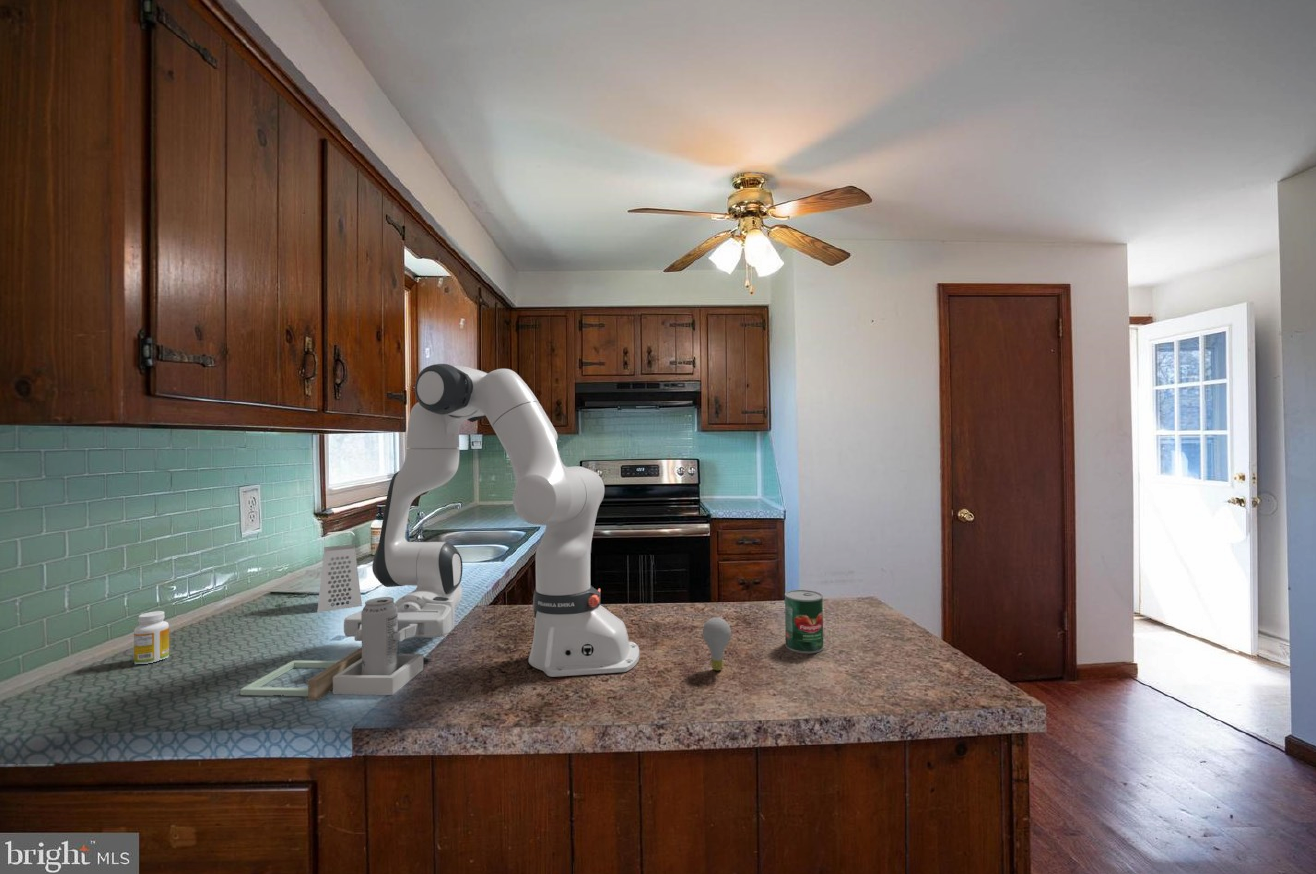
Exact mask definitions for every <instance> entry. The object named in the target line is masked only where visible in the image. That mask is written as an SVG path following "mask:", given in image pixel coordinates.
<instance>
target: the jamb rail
mask: <svg viewBox="0 0 1316 874" xmlns="http://www.w3.org/2000/svg"><path fill="white" fill-rule="evenodd" d="M361 658H362V646H361V647H359V648H358V649H356V650H354V651H353V652H352V653H350V654H348V655H347V656H345V657H343V658H342V659H340V660H337V661H338V662H337V663H335V664H333V665H332V666H330V667H329V668H324V670H322V671H321V672H318V673H317V674H316V675H314V676H312V677H311V678H309V679H308V680H307V686H308V687H307V688H308V696H307V698H308V701H318V700H319V699H321V698H322V697H324V696H326V695H327V694H328V693H330V692H332V691H333V677H334V676H335V675H337V674H338V673H340V672H341V671H343V670H344V669H346V668H347V667H349V666H351V665H352V664H354V663H355V662H357V661H358V660H360V659H361Z"/></svg>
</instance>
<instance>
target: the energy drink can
mask: <svg viewBox="0 0 1316 874" xmlns="http://www.w3.org/2000/svg"><path fill="white" fill-rule="evenodd" d="M394 600H395V599H394V597H390V596H383V597H382V596H381V597H375V598H371V599H368V600H366V601H365V602H364V604H365V605H364V607H363V609H362V610H361V611H362V612H361V622H362V641H361V647H362V675H392V674H393V673H394V672H395V671H397V670H398V654H399V641H393V640H392V638H393V636H392V634H393V632H394V631H396V630H397V629H398V613H397V606H396V604H395V601H394Z"/></svg>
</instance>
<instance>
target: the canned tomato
mask: <svg viewBox="0 0 1316 874" xmlns="http://www.w3.org/2000/svg"><path fill="white" fill-rule="evenodd" d="M823 597H824V596H823V594H822V593H820V592H817V591H814V590H809V589H794V590H793V589H792V590H789V591H788V590H787V591H786V592H785V593H784V618H785V620H784V621H785V623H784V626H785V627H784V628H785V631H784V633H785V644H784V645H785V647H786V648H787V649H788V650H790V651H792V652H795V653H800V654H816V653H819V652H821V651H823V650H824V648H825V647H824V601H823Z"/></svg>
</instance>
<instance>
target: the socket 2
mask: <svg viewBox="0 0 1316 874" xmlns="http://www.w3.org/2000/svg"><path fill="white" fill-rule="evenodd" d="M422 671H424V653H398V670H397V671H395V672H394V673H393V674H392V675H362V658H361V659H360V660H358V661H357V662H355V663H354V664H352V665H351V666H349V667H347V668H346V669H344V670H343V671H341V672H340V673H338V674H337V675H335V676H334V677H333V690H332V694H333V695H363V696H364V695H365V696H366V695H373V696H374V695H376V696H378V695H379V696H394V694H396V693H398V691H400V690H401V689H402V688H403V687H404V686H405V685H406V684H408V683H409V682H410V681H411V680H412V679H414V678H415V677H416V676H418V675H419V673H421V672H422Z"/></svg>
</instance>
